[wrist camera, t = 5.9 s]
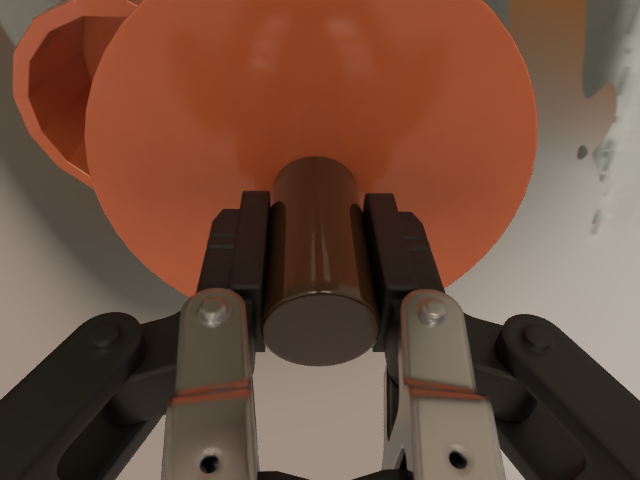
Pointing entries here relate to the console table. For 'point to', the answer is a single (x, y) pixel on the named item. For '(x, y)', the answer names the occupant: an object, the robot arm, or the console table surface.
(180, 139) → the lid
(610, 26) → the console table surface
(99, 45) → the pot
